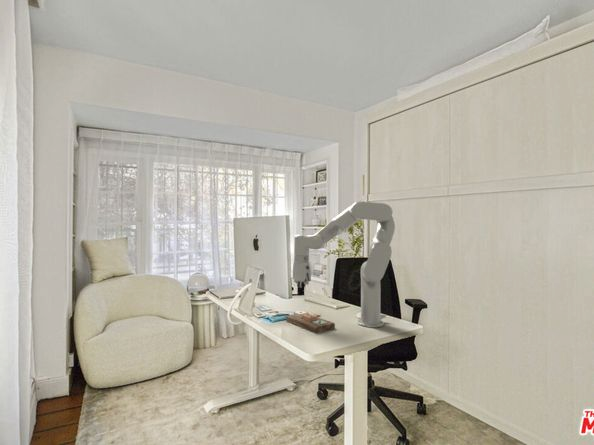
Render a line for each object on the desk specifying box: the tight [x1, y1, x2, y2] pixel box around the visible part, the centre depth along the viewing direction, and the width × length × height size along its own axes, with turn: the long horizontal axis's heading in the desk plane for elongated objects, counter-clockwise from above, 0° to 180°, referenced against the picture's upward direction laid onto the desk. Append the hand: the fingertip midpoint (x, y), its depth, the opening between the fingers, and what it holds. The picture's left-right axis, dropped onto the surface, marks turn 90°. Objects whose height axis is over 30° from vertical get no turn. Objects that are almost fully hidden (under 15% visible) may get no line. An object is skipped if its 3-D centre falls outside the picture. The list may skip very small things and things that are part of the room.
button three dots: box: [312, 320, 327, 326], centre depth 156 cm, size 5×5×3 cm
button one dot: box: [293, 310, 308, 318], centre depth 168 cm, size 5×5×3 cm
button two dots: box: [303, 313, 318, 322], centre depth 162 cm, size 5×5×3 cm
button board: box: [285, 314, 336, 334], centre depth 162 cm, size 12×23×2 cm, turn 37°
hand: (300, 294), depth 168 cm, fingers closed
